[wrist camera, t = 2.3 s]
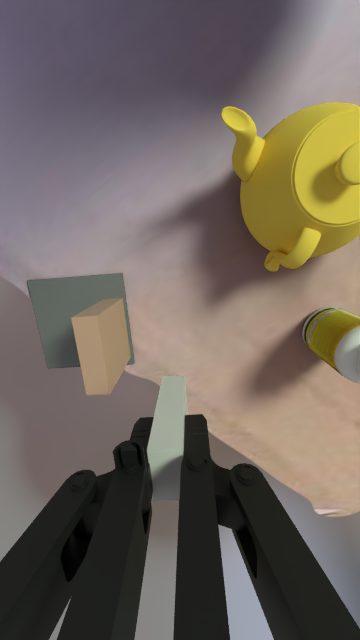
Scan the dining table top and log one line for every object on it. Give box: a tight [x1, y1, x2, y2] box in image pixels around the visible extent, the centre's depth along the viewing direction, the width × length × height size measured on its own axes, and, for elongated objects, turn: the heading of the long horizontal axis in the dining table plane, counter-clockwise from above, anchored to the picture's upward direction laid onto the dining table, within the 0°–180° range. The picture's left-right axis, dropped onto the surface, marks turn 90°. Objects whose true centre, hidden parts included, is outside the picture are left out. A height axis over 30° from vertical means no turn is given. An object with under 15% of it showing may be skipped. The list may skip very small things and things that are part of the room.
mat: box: [27, 273, 135, 368], centre depth 33 cm, size 12×12×1 cm
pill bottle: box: [302, 307, 360, 383], centre depth 27 cm, size 6×6×11 cm
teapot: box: [221, 102, 360, 272], centre depth 23 cm, size 20×15×12 cm
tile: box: [71, 298, 131, 395], centre depth 28 cm, size 8×3×9 cm, turn 4°
